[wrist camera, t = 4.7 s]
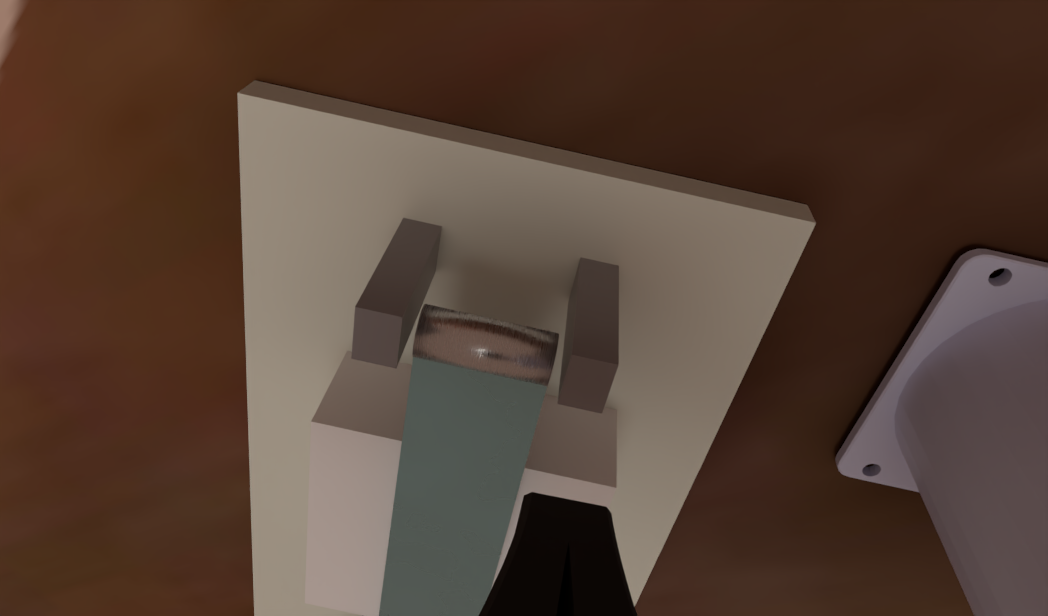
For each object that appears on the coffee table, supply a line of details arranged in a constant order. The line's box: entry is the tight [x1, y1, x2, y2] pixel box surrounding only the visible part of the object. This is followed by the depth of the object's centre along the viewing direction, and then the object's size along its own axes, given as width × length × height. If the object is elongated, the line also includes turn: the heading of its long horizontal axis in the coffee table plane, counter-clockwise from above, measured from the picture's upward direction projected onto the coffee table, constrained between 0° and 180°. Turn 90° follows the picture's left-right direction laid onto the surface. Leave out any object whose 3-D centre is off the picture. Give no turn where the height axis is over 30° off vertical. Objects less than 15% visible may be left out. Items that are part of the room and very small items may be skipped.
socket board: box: [238, 80, 816, 616], centre depth 22 cm, size 14×22×5 cm, turn 169°
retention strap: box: [379, 304, 559, 616], centre depth 21 cm, size 3×18×1 cm, turn 169°
